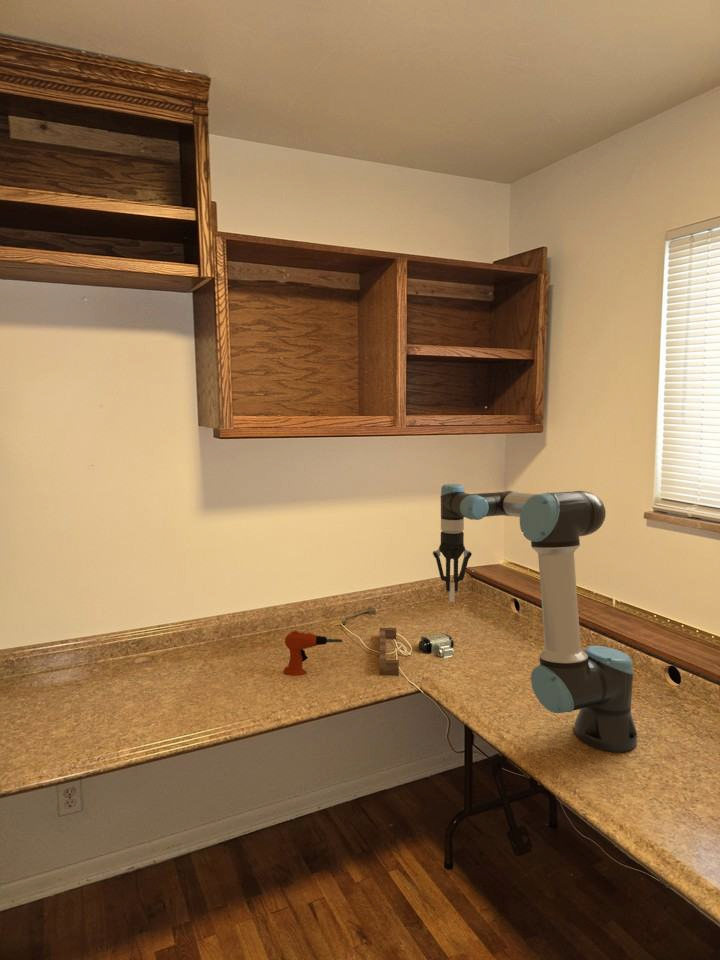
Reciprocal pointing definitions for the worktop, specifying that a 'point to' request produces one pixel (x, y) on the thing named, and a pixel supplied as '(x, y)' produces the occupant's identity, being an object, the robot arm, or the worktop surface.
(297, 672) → the toy drill
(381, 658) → the stop
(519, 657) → the worktop surface
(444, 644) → the pneumatic valve
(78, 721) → the worktop surface
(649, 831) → the worktop surface
